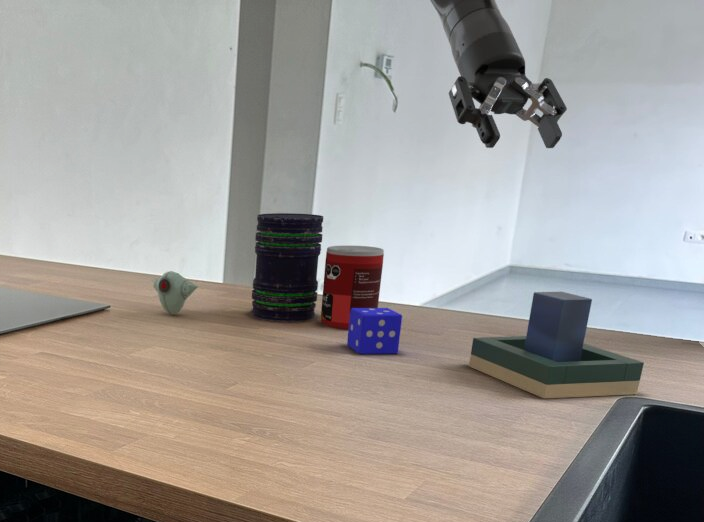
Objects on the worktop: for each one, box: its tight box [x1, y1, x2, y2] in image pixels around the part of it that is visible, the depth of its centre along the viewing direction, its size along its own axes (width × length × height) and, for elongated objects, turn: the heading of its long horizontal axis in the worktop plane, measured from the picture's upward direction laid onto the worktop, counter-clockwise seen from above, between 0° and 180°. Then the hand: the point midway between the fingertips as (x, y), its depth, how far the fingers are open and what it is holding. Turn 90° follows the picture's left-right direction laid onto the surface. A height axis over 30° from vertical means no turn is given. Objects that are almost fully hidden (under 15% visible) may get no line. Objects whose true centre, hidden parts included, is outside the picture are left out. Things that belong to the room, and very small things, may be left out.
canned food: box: [320, 245, 385, 330], centre depth 124 cm, size 8×8×11 cm
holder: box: [468, 335, 645, 400], centre depth 96 cm, size 11×14×4 cm
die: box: [346, 307, 403, 355], centre depth 110 cm, size 5×5×5 cm
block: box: [524, 291, 593, 362], centre depth 95 cm, size 4×5×8 cm
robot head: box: [152, 270, 199, 316], centre depth 132 cm, size 8×4×7 cm, turn 46°
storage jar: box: [251, 212, 324, 323], centre depth 130 cm, size 10×10×15 cm
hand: (524, 143), depth 110 cm, fingers open, 8 cm apart
